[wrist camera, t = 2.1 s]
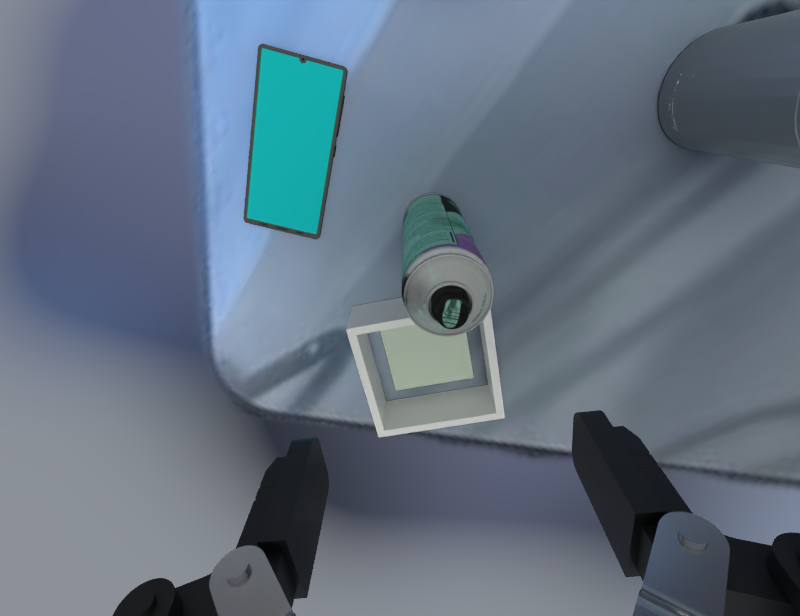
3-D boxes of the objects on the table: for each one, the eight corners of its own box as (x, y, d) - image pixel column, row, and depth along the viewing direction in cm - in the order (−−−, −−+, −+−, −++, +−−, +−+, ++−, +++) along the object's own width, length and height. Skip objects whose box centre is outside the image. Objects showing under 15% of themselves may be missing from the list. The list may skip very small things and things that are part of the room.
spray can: (414, 256, 42) (421, 371, 24) (395, 204, 40) (385, 288, 22) (467, 237, 41) (515, 342, 23) (450, 183, 39) (488, 253, 21)
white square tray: (481, 282, 43) (489, 303, 39) (495, 389, 49) (504, 418, 45) (351, 306, 45) (345, 329, 40) (381, 407, 50) (378, 437, 46)
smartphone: (243, 222, 40) (258, 42, 34) (246, 219, 41) (261, 43, 35) (319, 240, 41) (348, 67, 35) (321, 237, 42) (349, 68, 35)
